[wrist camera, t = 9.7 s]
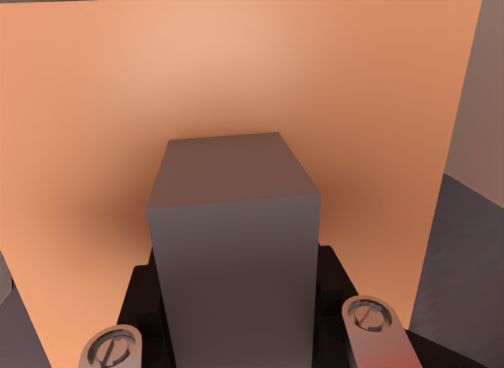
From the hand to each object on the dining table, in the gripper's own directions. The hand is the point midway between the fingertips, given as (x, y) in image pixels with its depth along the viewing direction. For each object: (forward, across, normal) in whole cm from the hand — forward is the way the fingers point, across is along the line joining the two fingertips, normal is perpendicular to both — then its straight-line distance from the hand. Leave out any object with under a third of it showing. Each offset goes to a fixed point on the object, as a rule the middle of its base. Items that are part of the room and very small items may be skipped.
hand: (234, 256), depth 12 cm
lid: (+3, 0, 0) cm, 3 cm away
